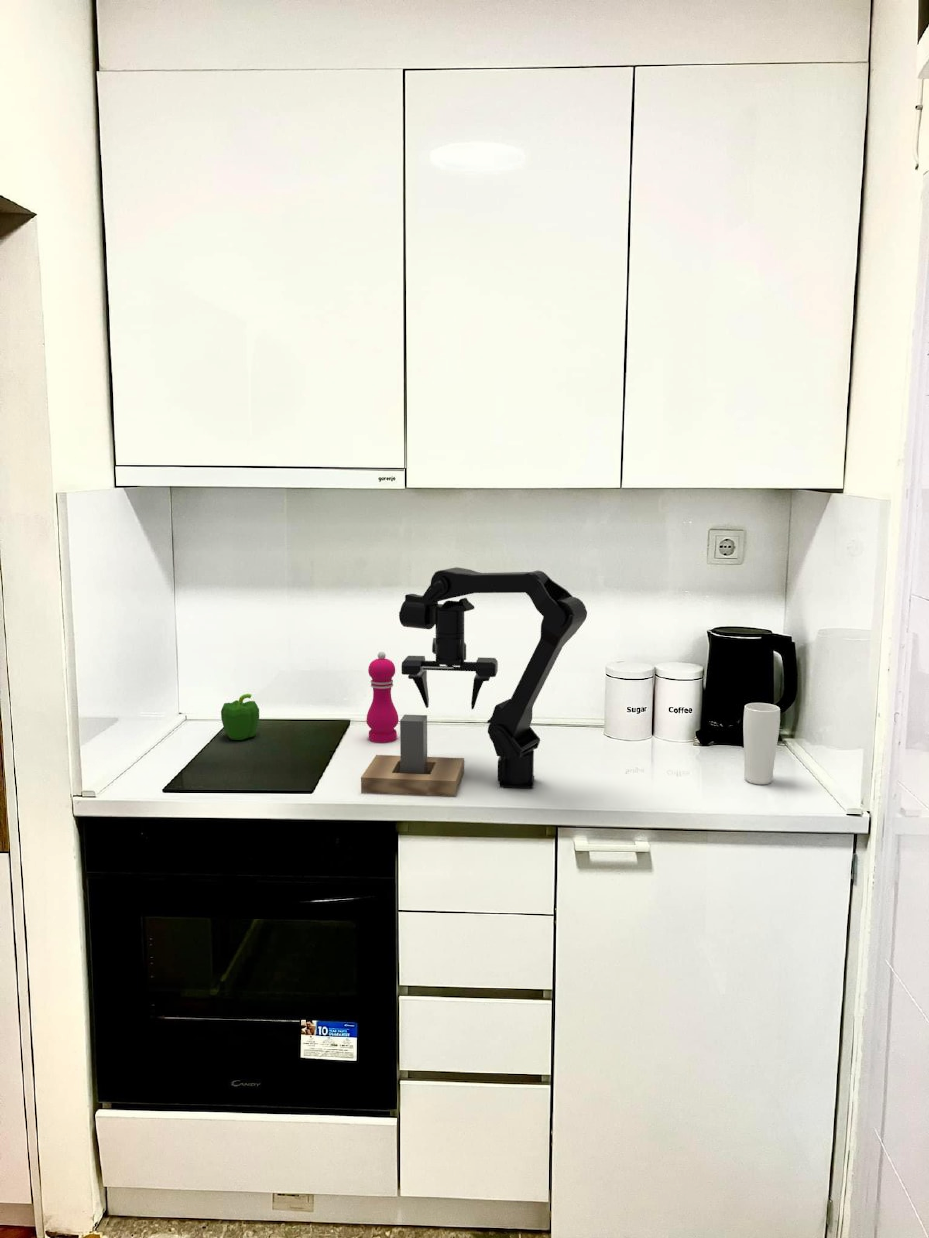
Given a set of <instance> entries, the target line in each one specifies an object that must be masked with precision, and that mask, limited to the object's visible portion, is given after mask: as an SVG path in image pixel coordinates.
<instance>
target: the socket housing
mask: <svg viewBox="0 0 929 1238" xmlns="http://www.w3.org/2000/svg"><path fill="white" fill-rule="evenodd" d="M464 774H465V758H464V757H445V756H443V757H442V756H441V757H440V756H427V774H406V773H401V755H392V754H391V755H389V754H376V755H375V756H374V758H373V759H372V760H371V762H370V764H368V766H367V768H366V769H365V771H364V772H363V773H362V774H361V776H360V792H361V793H364V794H366V793H367V794H389V795H409V796H410V795H412V796H435V797H456V795H457V793H458V790H459V788H460V784H461V782H462V780H463V777H464Z"/></svg>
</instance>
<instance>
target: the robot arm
mask: <svg viewBox="0 0 929 1238" xmlns="http://www.w3.org/2000/svg"><path fill="white" fill-rule="evenodd" d="M514 593H515V594H516V593H521V594H522V593H523V594H524V593H525V594H526V595H527V596H529V598H530V600H531V602H532V603H533V605H534V607H535V609H536V610H537V612H539V614H541V616H542V620H541V623H540V638H539V641H538V643H537V645H536V647H535V648H534V651H533V653H532V655H531V657H530V659H529V661H528V663H527V665H526V667H525V669H524V671H523V673H522V675H521V678H520V679H519V681H518V683H517V686H516V687H515V689H514V692H513V694H512V695H511V698H509V699H506V700H504V701H502V702H499V703H498V704H495V706H494V708H493V711H492V714H491V717H490V718H489V719H488V720H487V721H486V723H487V724H488V727H487V734H488V736H489V739H490V740H491V742H492V744H493V747H494V751H495V753H496V756H497V757H498V759H497V781H498V782H499V783H498V784H499V785H498V786H499V787H500V788H515V789H520V788H521V789H533V788H534V783H535V775H534V768H535V767H534V765H535V764H534V762H535V761H534V759H535V758H534V757H535V756H534V755H535V750H536V749H538V747H539V746H540V742H541V738H540V737H539V736H538V735H537V733H536V732H535V731H534V729H532V727H531V724H532V720H533V707H534V705H535V703H536V700H537V699H538V697H539V694H540V693H541V691H542V689H543V687H544V685H545V683H546V681H547V679H548V677H549V675H550V673H551V671H552V669H553V667H554V665H555V663H556V661H557V659H558V657H559V655H560V653H561V651H562V649H563V647H564V646H565V644H566V643H568V641H569V640H570V639H571V638H572V637H573V636H575V634H576V633H577V632H578V630H579V629H580V628H581V627H582V625H583V623H584V622H585V621H586V619H587V617H588V610H587V608H586V605H585V604H584V602H583V600H581V599H580V598H579V597H576V596H573V595H572V594H571V592H569V591H568V590H567V589H566V588H564V587H563V586H561V585H559V583H557V582H555V581H553V580H552V579H551V578H550V576H549V575H548V574H546V573H545V572H544V571H542V570H534V571H521V572H520V571H512V572H510V571H509V572H508V571H507V572H479V571H476V570H472V569H469V568H463V567H457V566H456V567H452V568H446V569H441V570H437V571H435V572H434V574H433V575H432V577H431V579H430V584H429V586H428V587H427V589H426V590H425V592H424V593H423V595H420V594H416V593H407V594H405V595H404V601H403V602H402V604H401V606H400V610H399V611H398V617H399V618H398V619H399V622H400V624H401V625H402V627H404V628H405V627H406V628H410V629H411V628H412V629H423V630H432V629H433V628H434V627H435V637H433V638H432V645H431V652H432V654H433V655H435V660H426V657H425V655H407V656H406V657H405V659H403V661H402V662H401V675H405V676H406V675H407V679H409V680H413V682H414V684H415V686H416V688H417V690H418V691H419V694H420V696H421V699H422V702H423V704H424V706H425V708H426V709H427V708H429V705H430V703H429V702H430V700H429V699H430V698H429V696H430V695H429V690H428V689H429V688H428V680H427V678H428V676H427V675H428V671H442V672H443V671H447V672H448V671H449V672H451V671H452V672H475V676H474V678H473V683H472V684H473V685H472V694H471V703H470V704H471V710H474V708H475V706H476V702H477V700H478V697H479V693H480V690H481V688H482V686H483V684H484V682H489V681H490V679H491V678H495V677H496V676H497V673H498V669H499V668H498V667H499V663H498V660H497V658H496V657H477V660H476V661H466V660H467V644H466V642H465V612H469V611H472V610H475V605H473V604H472V603H471V602H470V601H469V599H468V598H467V597H463V596H468V595H471V594H472V595H473V594H514ZM458 597H462V598H460V599H459V600H458V601H457V600H449V599H454V598H458ZM445 600H446V601H445ZM442 601H444V602H443V603H439V602H442Z"/></svg>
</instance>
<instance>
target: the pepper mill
mask: <svg viewBox="0 0 929 1238" xmlns="http://www.w3.org/2000/svg"><path fill="white" fill-rule="evenodd" d="M386 657H387V655H386V653H385V652H384V651H380V652H378V653H377V658H376V659H374V660H372V661H371V662H370V663H369V666H368V669H367V670H368V671H367V672H368V674H369V676H370V677H371V680H370V687H371V688H372V691H373V692H372V702H371V704H370V706H369V709H368V711H367V714H366V721H365V723H366V724H367V726H368V727H369V728H370V729H369V730H368V740H369V741H371V742H373V743H381V744H382V743H389V742H394V741H396V739H398V736H397V735H398V734H397V730H396V729H395V728H396V727H397V725H398V724H399V722H400V720H399V715H398V711H397V709H396V707H395V704H394V703H393V698H392V688H394V680H393V679H392V678H393V677H394V676H395V674H396V666H395V663H394V662H393V661H392V660H390V659H388V658H386Z"/></svg>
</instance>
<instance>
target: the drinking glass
mask: <svg viewBox="0 0 929 1238" xmlns="http://www.w3.org/2000/svg"><path fill="white" fill-rule="evenodd" d="M742 719H743V723H742V725H743V726H742V728H743V730H742V732H743V733H742V734H743V752H744V753H743V754H744V755H743V756H744V757H743V759H744V772H743V773H744V776H743V777H744V780H745V781H746V782H748V783H751V784H754V785H768V784H771V783H772V782H773V778H774V768H775V760H776V754H777V747H778V742H779V741H778V739H779V733H780V725H781V708H780V707H779V706H777V705H776V704H771V703H765V702H750V703H747V704H745V705H744V709H743V718H742Z"/></svg>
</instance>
